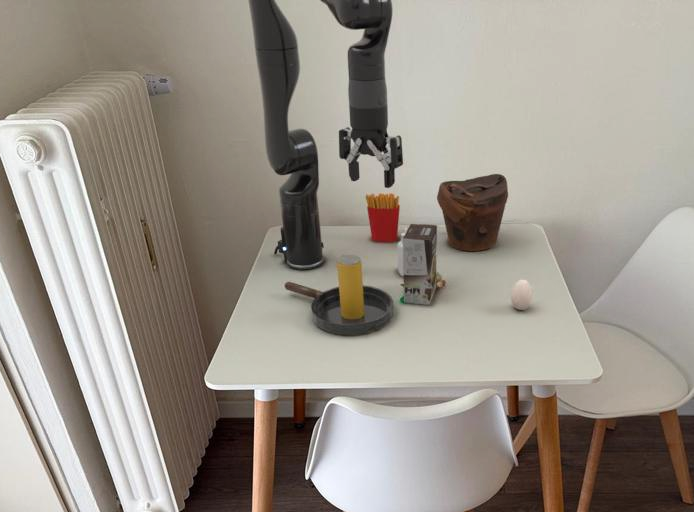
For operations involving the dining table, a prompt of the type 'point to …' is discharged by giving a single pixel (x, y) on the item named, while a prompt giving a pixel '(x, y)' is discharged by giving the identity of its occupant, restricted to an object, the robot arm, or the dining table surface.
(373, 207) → the french fries
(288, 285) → the pan handle
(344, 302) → the can
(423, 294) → the coffee box
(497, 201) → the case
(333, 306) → the pan
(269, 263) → the dining table surface
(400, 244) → the eye dropper bottle
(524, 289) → the egg
